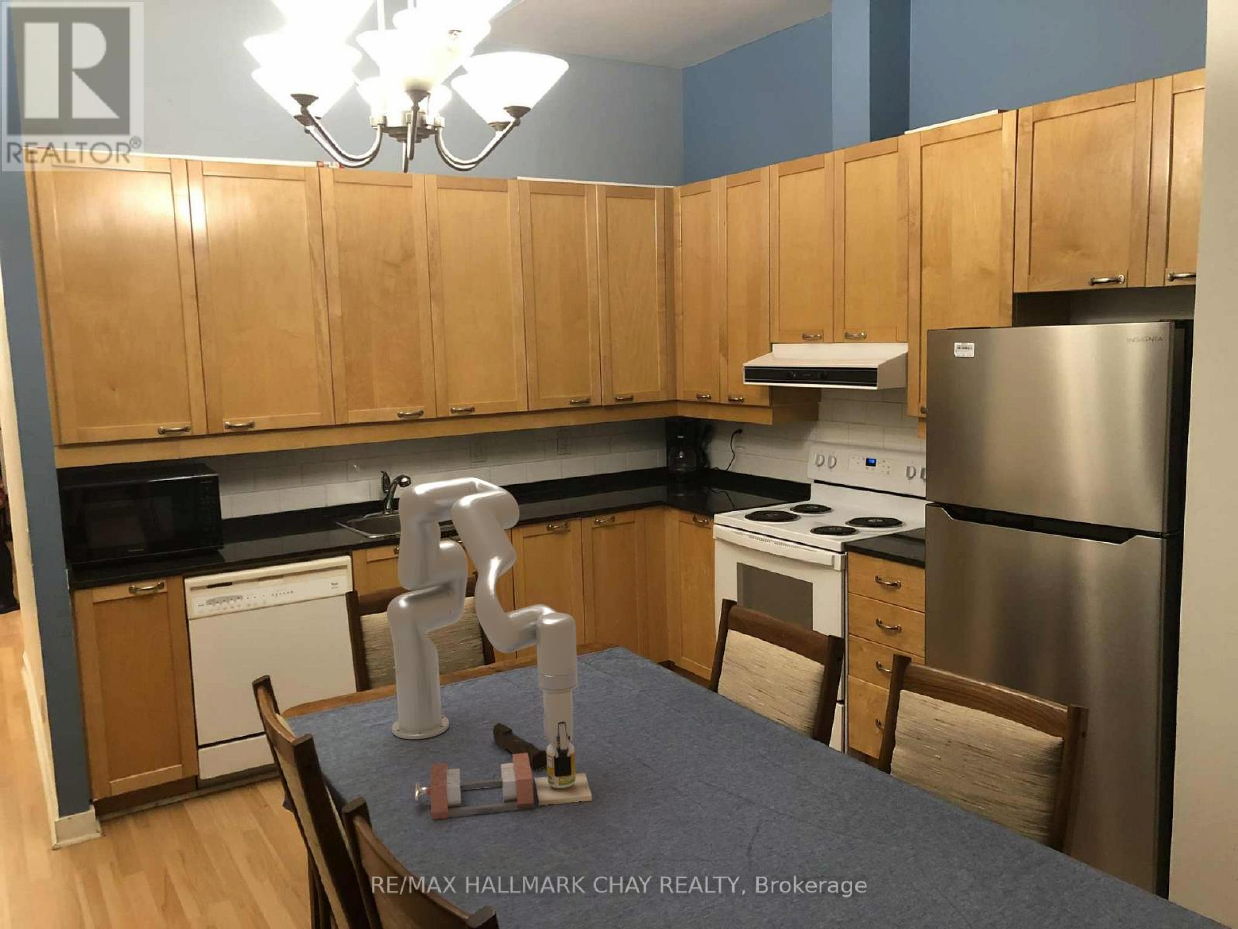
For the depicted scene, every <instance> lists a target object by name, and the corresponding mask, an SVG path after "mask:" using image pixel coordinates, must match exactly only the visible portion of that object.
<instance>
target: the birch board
mask: <svg viewBox="0 0 1238 929" xmlns="http://www.w3.org/2000/svg"><path fill="white" fill-rule="evenodd" d="M534 786H535V791H536V795H537V796H538V797H537V796H536V797H537V801H539V802H538V806H539V807H541V806H540V805H545V806H549V805H548V804H554V805H560V804H561V805H562V804H571V803H572V802H573V803H580V802H579V801H582V802H588V801H589V802H590V801H593V797H592V796H593V795H592V792H591V788H590V785H589V781H588V779H587V775H586V772H580V773H575V783H574V784H573V785H571V786H569V787H565V788H555V787H552V786H550V785H549V784H548V777H547V776H541V777H540V776H539V777H534ZM573 803H572V804H573Z"/></svg>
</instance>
